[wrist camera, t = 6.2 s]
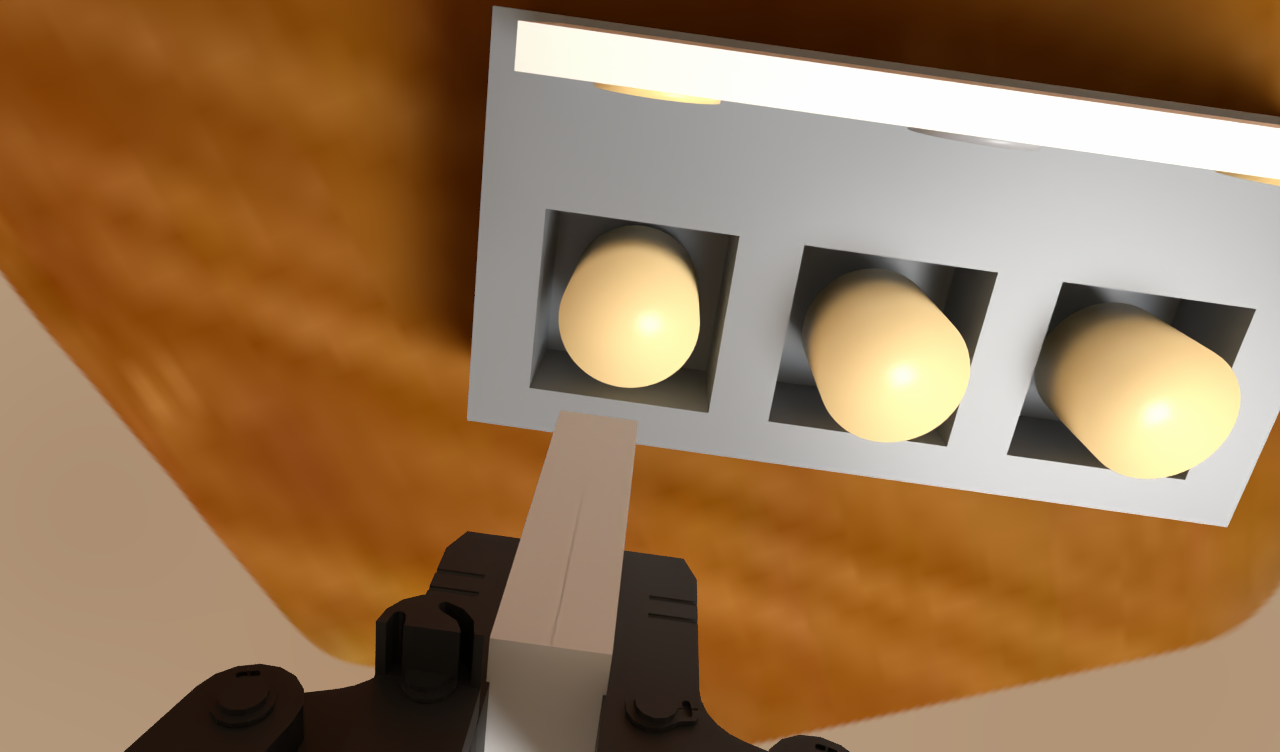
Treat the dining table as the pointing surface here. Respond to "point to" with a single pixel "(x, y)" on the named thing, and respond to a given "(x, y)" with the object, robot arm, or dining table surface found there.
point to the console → (868, 244)
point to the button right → (1137, 390)
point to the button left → (631, 307)
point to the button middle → (884, 356)
